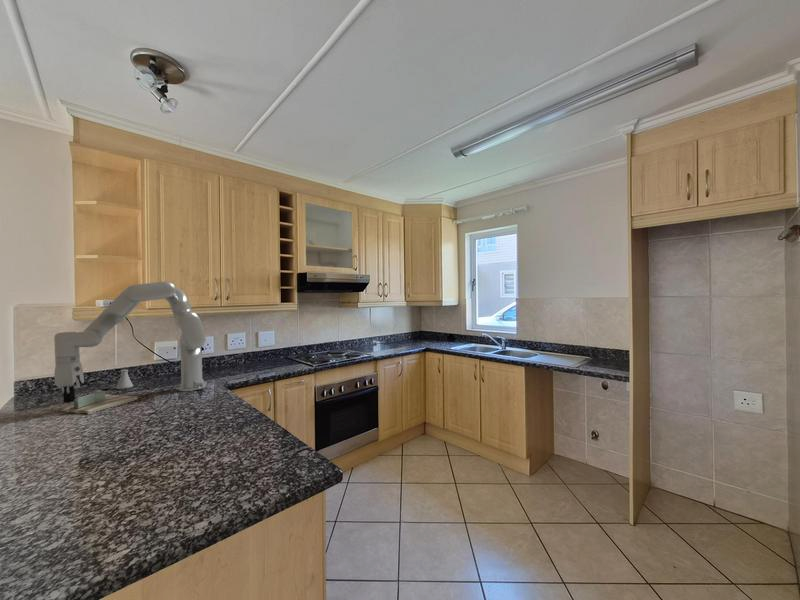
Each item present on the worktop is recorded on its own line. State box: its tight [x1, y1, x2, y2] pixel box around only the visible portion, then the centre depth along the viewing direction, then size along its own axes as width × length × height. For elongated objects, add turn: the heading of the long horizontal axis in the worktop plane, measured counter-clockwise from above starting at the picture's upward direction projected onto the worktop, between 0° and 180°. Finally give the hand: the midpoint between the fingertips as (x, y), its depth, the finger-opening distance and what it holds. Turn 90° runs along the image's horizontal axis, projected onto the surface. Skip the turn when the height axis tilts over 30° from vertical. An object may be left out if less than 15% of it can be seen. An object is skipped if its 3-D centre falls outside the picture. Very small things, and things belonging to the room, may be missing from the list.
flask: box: [115, 368, 134, 390], centre depth 180 cm, size 7×7×10 cm
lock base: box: [55, 394, 139, 415], centre depth 149 cm, size 20×20×2 cm
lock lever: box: [73, 389, 106, 409], centre depth 146 cm, size 13×5×5 cm, turn 176°
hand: (69, 401), depth 143 cm, fingers closed
